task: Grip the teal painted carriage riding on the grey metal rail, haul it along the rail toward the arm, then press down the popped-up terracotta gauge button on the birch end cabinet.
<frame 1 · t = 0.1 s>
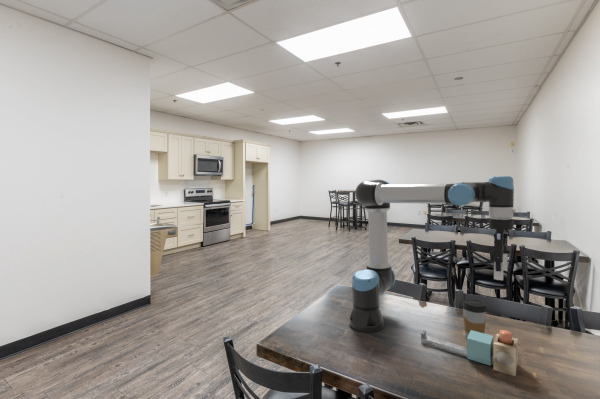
hand: (500, 274, 112), 28 cm above the table, fingers open, 13 cm apart
coffee cup: (474, 339, 119), on the table
gauge button: (505, 336, 101), point 10 cm above the table, slide at 0.0 cm
carriage: (480, 347, 106), point 4 cm above the table, slide at 0.0 cm
rail: (458, 352, 111), on the table
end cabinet: (505, 366, 102), on the table
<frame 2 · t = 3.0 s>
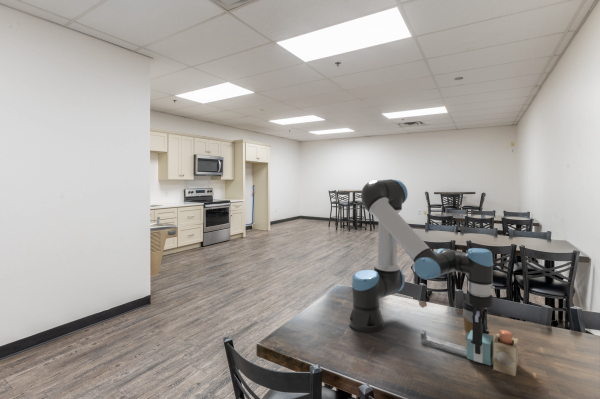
hand: (480, 356, 107), 1 cm above the table, fingers closed on carriage, 7 cm apart
carriage: (480, 347, 106), point 4 cm above the table, slide at 0.0 cm, touching gripper
everything else where it was.
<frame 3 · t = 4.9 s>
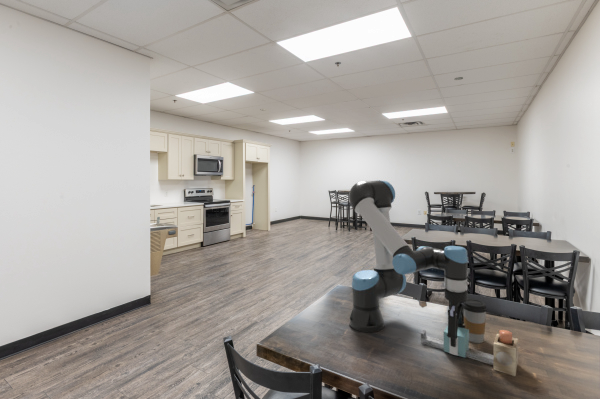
hand: (456, 349, 111), 1 cm above the table, fingers closed on carriage, 7 cm apart
carriage: (456, 340, 111), point 4 cm above the table, slide at 7.7 cm, touching gripper
everything else where it was.
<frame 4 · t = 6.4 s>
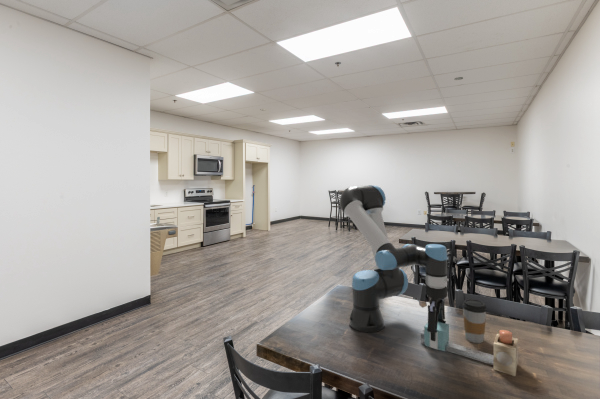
hand: (436, 343, 116), 1 cm above the table, fingers closed on carriage, 7 cm apart
carriage: (436, 335, 116), point 4 cm above the table, slide at 14.6 cm, touching gripper
everything else where it was.
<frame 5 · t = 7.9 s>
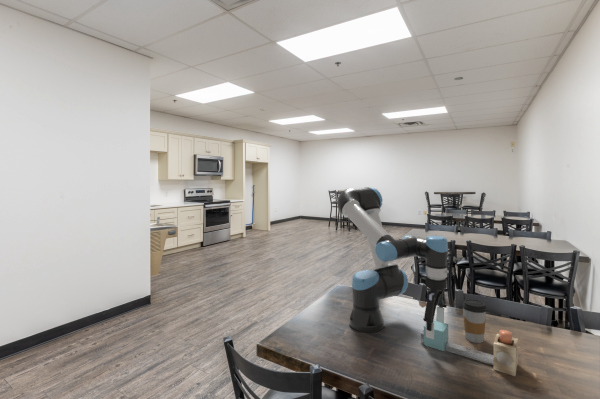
hand: (435, 330, 116), 6 cm above the table, fingers open, 13 cm apart
carriage: (436, 334, 116), point 4 cm above the table, slide at 14.8 cm
everything else where it was.
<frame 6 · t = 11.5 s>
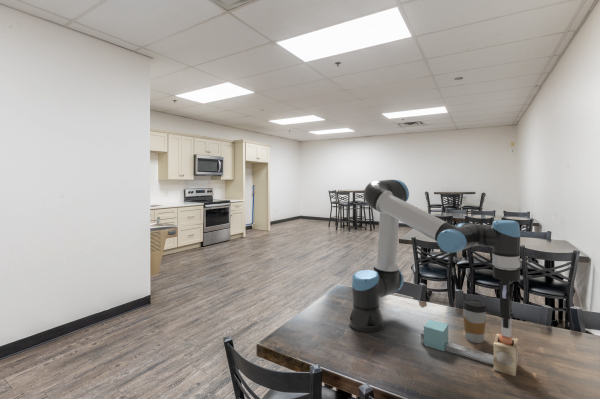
hand: (506, 335, 101), 11 cm above the table, fingers closed
gauge button: (505, 340, 101), point 9 cm above the table, slide at 1.3 cm, touching gripper
everything else where it was.
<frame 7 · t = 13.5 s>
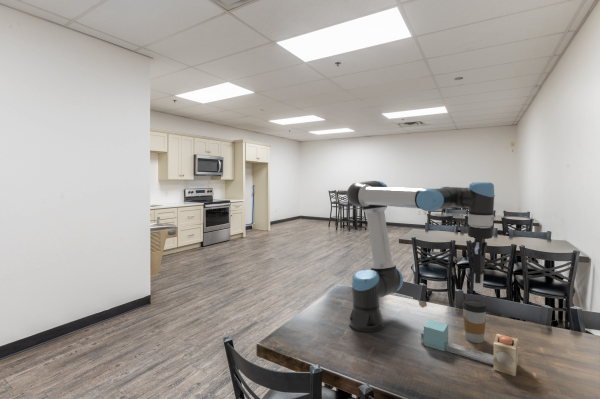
hand: (478, 290, 108), 24 cm above the table, fingers closed
gauge button: (505, 342, 101), point 9 cm above the table, slide at 2.0 cm
everything else where it was.
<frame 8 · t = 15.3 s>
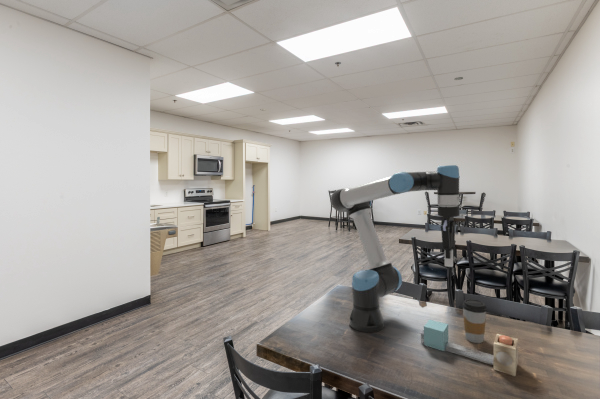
hand: (448, 266, 117), 30 cm above the table, fingers closed
nothing on the table moved.
at the end: carriage slide at 14.8 cm; gauge button slide at 2.0 cm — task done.
